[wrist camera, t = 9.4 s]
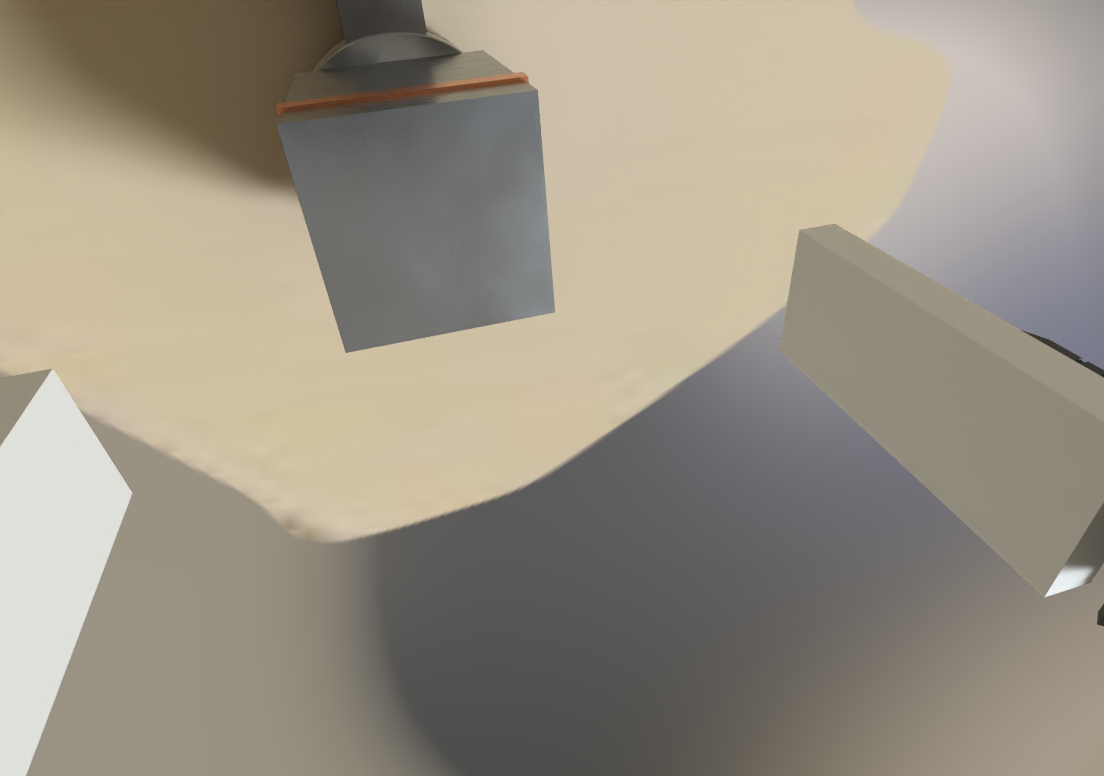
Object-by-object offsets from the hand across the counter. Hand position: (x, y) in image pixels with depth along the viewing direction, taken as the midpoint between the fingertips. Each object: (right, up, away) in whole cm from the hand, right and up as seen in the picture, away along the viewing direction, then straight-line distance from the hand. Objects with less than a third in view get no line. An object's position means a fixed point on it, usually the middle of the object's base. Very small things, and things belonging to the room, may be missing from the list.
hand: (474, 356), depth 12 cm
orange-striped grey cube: (-4, +8, +12) cm, 15 cm away
